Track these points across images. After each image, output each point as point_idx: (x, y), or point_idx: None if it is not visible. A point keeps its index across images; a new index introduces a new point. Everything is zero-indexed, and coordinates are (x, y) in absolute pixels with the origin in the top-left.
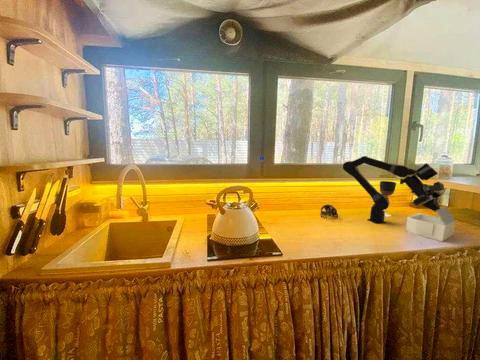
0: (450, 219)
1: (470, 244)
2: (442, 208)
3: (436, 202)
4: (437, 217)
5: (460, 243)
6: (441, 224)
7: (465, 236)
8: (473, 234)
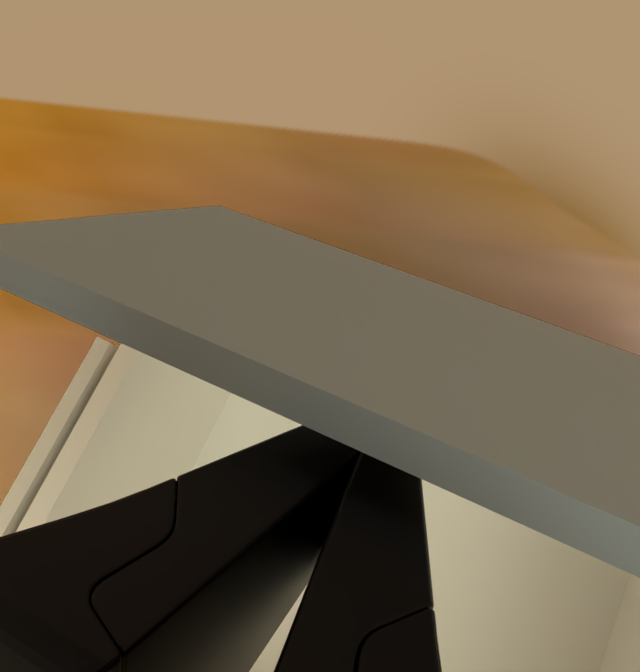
0: (384, 279)
1: (526, 191)
2: (346, 394)
3: (115, 656)
4: (76, 467)
5: (571, 279)
6: (170, 413)
7: (228, 197)
8: (103, 123)
